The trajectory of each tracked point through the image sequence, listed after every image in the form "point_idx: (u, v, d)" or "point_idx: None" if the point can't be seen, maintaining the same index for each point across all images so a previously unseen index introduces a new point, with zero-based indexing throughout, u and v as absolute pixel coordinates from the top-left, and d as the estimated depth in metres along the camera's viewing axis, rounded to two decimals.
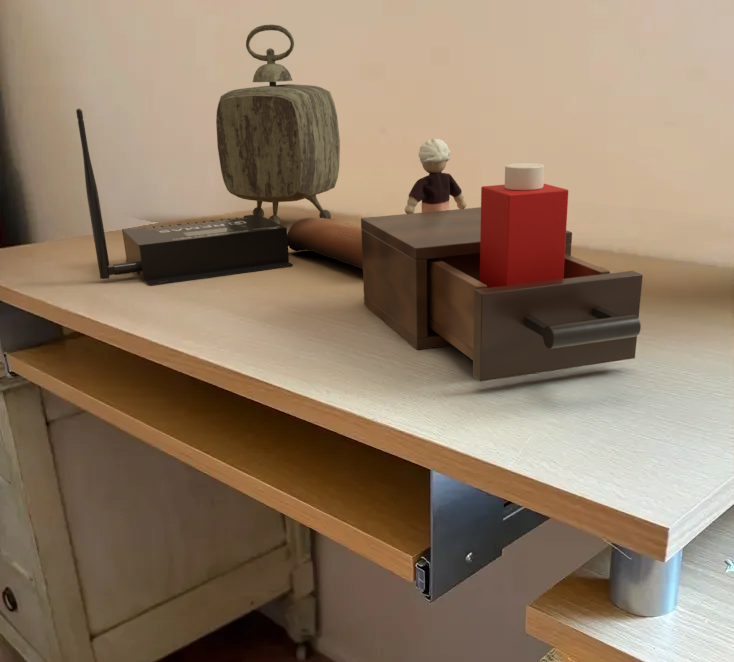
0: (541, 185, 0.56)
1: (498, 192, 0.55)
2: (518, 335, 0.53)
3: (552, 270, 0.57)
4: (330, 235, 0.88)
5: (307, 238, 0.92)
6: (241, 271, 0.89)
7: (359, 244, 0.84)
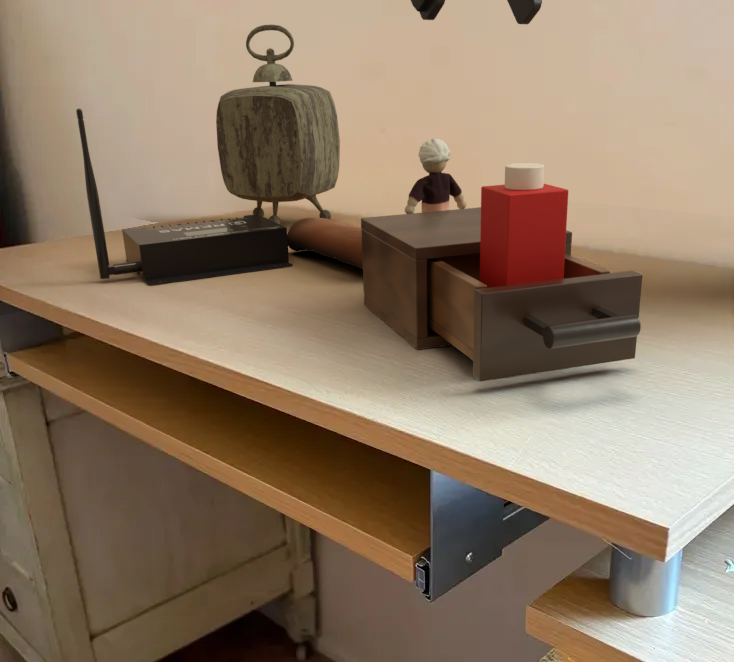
0: (541, 185, 0.56)
1: (498, 192, 0.55)
2: (518, 335, 0.53)
3: (552, 270, 0.57)
4: (330, 235, 0.88)
5: (307, 238, 0.92)
6: (241, 271, 0.89)
7: (359, 244, 0.84)
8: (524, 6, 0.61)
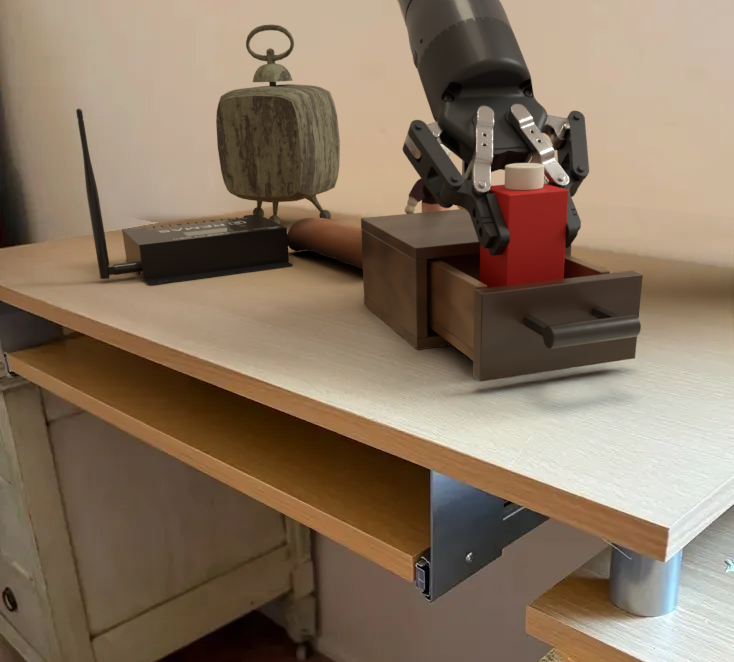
0: (541, 185, 0.56)
1: (498, 192, 0.55)
2: (518, 335, 0.53)
3: (552, 270, 0.57)
4: (329, 235, 0.88)
5: (307, 238, 0.92)
6: (241, 271, 0.89)
7: (359, 244, 0.84)
8: None
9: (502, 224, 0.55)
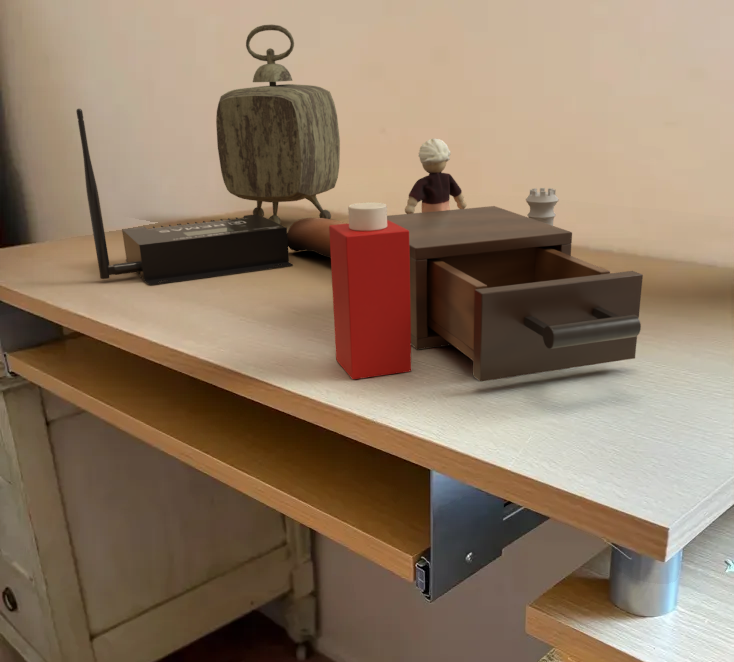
0: (383, 225, 0.56)
1: (339, 232, 0.55)
2: (518, 335, 0.53)
3: (398, 310, 0.57)
4: (329, 235, 0.88)
5: (307, 238, 0.92)
6: (241, 271, 0.89)
7: None
8: None
9: None
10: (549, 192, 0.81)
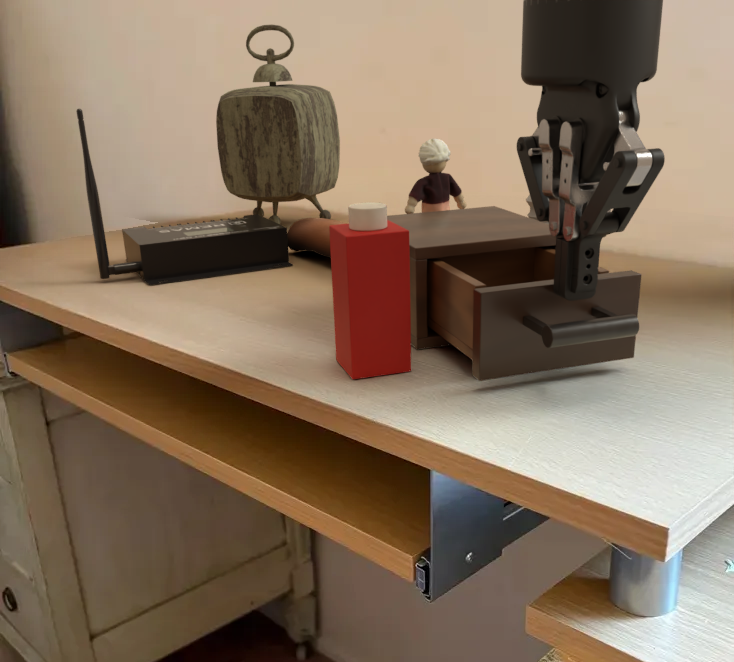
0: (383, 225, 0.56)
1: (339, 232, 0.55)
2: (517, 334, 0.54)
3: (398, 310, 0.57)
4: (329, 235, 0.88)
5: (307, 238, 0.92)
6: (241, 271, 0.89)
7: None
8: None
9: None
10: None
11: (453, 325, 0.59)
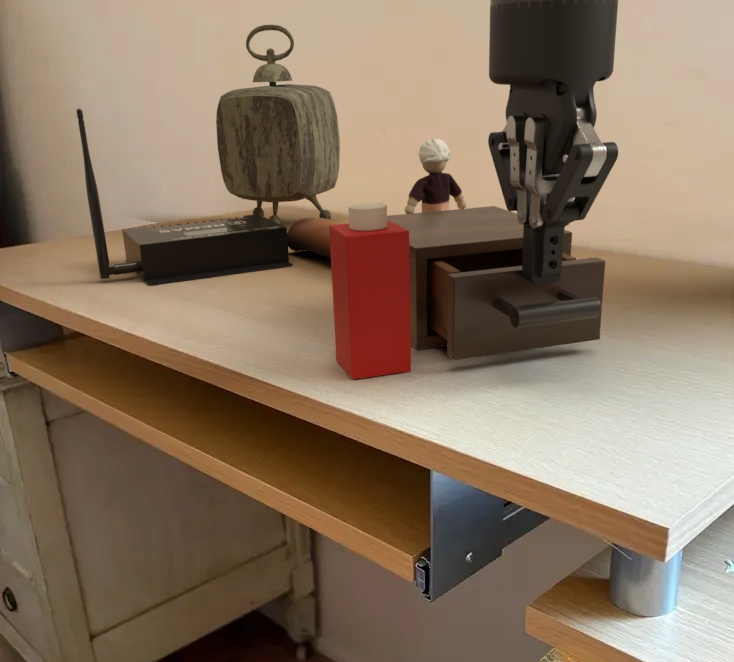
0: (383, 225, 0.56)
1: (339, 232, 0.55)
2: (488, 317, 0.57)
3: (398, 310, 0.57)
4: (329, 235, 0.88)
5: (307, 238, 0.92)
6: (241, 271, 0.89)
7: None
8: None
9: None
10: None
11: (431, 309, 0.63)
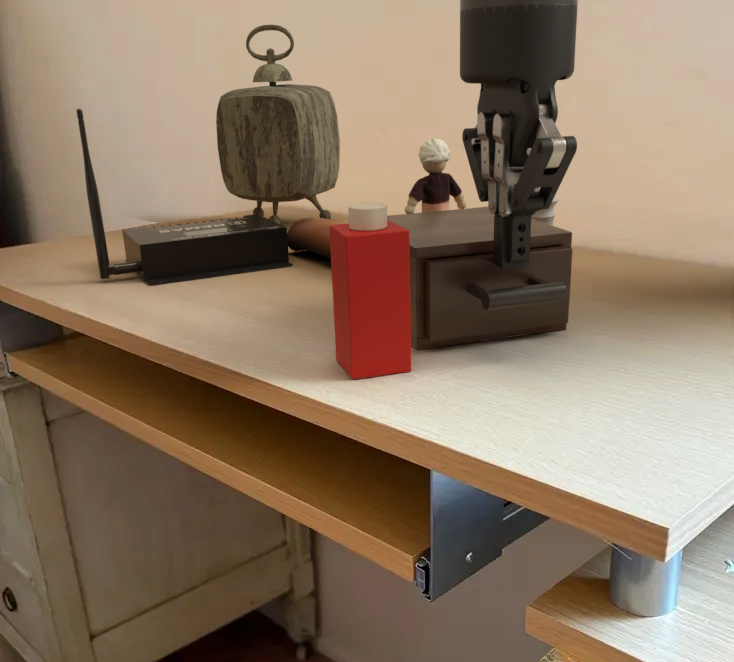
0: (383, 225, 0.56)
1: (339, 232, 0.55)
2: (462, 300, 0.61)
3: (398, 310, 0.57)
4: (329, 235, 0.88)
5: (307, 238, 0.92)
6: (241, 271, 0.89)
7: None
8: None
9: None
10: None
11: None
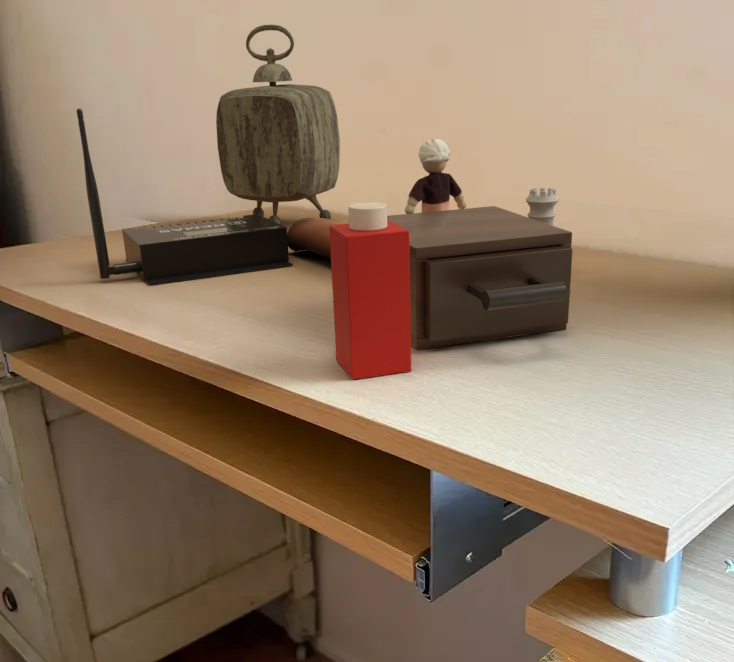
0: (383, 225, 0.56)
1: (339, 232, 0.55)
2: (462, 300, 0.61)
3: (398, 310, 0.57)
4: (329, 235, 0.88)
5: (306, 238, 0.92)
6: (241, 271, 0.89)
7: None
8: None
9: None
10: (549, 192, 0.81)
11: None
